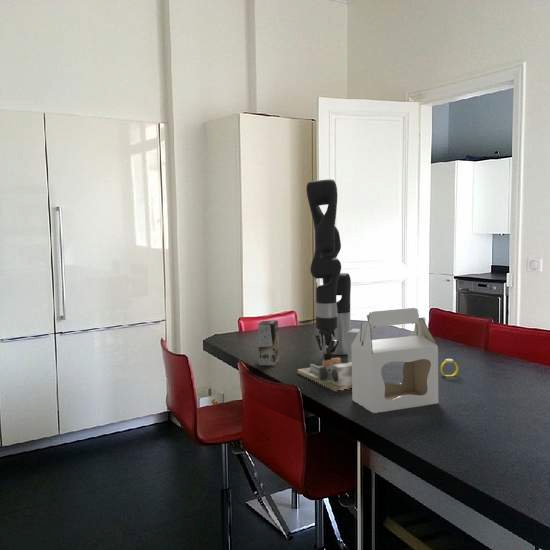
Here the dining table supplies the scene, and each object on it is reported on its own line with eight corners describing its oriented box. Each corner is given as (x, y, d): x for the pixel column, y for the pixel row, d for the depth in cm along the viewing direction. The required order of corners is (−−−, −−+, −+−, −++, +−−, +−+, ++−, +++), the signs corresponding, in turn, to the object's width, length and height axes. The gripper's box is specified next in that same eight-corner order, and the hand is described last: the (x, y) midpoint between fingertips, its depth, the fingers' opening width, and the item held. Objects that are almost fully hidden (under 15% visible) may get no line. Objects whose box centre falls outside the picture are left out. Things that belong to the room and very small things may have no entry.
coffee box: (275, 365, 220) (273, 324, 219) (258, 365, 222) (257, 324, 220) (279, 360, 229) (278, 320, 228) (263, 359, 230) (262, 320, 229)
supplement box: (371, 361, 223) (370, 329, 222) (366, 365, 216) (365, 332, 215) (353, 359, 226) (352, 328, 225) (347, 364, 219) (346, 331, 218)
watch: (442, 378, 197) (441, 361, 197) (439, 376, 200) (438, 359, 199) (459, 376, 198) (458, 359, 197) (456, 374, 200) (455, 357, 200)
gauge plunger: (338, 371, 202) (338, 357, 202) (347, 374, 197) (346, 360, 197) (313, 375, 198) (312, 361, 198) (321, 379, 193) (320, 364, 193)
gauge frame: (333, 367, 214) (333, 348, 214) (373, 385, 191) (373, 362, 190) (297, 373, 208) (297, 353, 208) (334, 391, 185) (333, 368, 184)
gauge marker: (325, 377, 195) (324, 366, 194) (326, 377, 194) (326, 367, 193) (319, 378, 194) (319, 367, 193) (320, 378, 193) (320, 368, 192)
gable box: (414, 391, 182) (413, 304, 180) (439, 403, 170) (438, 309, 167) (351, 400, 175) (349, 309, 173) (372, 414, 163) (371, 316, 160)
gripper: (345, 316, 196) (346, 366, 198) (326, 311, 208) (327, 358, 210) (326, 319, 193) (327, 369, 195) (308, 313, 205) (309, 360, 207)
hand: (327, 363), depth 203 cm, fingers closed
